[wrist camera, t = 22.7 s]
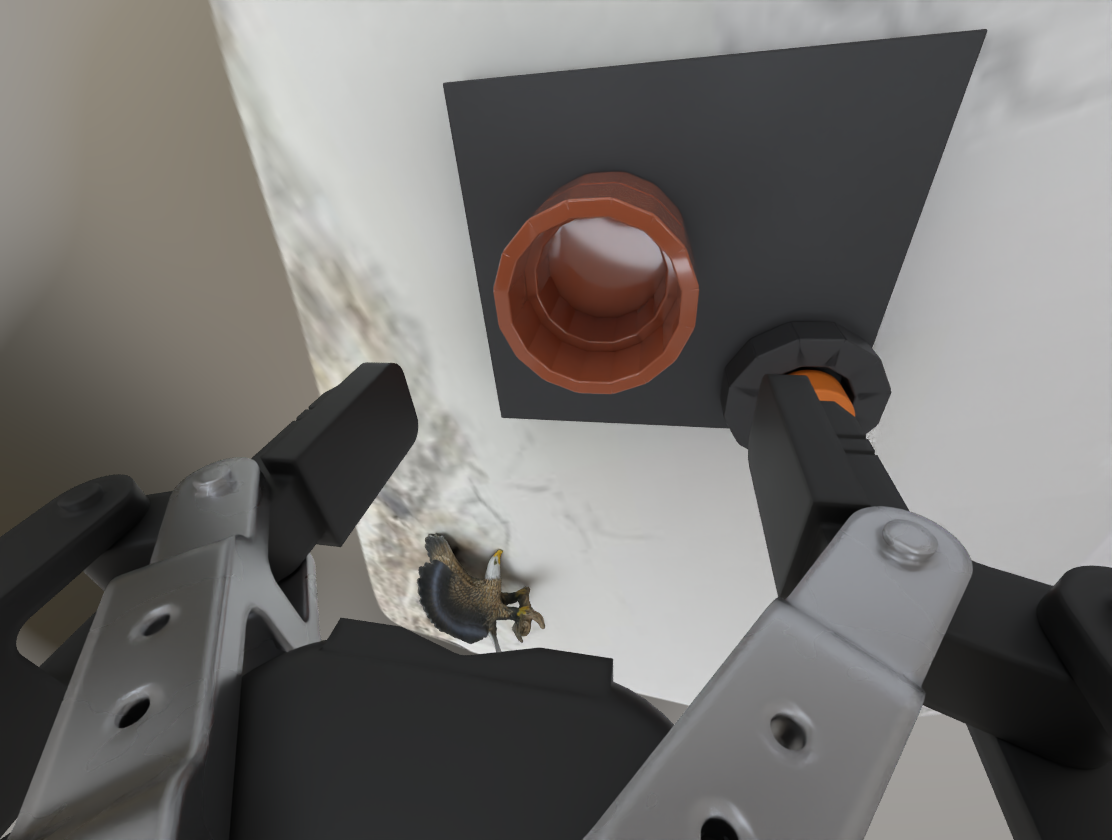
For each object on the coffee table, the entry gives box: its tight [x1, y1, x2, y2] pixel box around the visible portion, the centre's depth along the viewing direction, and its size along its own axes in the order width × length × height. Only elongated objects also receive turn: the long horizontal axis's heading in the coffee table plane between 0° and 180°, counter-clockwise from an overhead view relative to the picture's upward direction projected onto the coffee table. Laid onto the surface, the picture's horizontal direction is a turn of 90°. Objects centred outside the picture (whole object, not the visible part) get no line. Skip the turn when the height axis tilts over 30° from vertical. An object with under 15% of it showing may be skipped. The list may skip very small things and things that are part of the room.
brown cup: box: [493, 171, 699, 394], centre depth 16 cm, size 6×6×5 cm
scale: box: [443, 29, 987, 449], centre depth 18 cm, size 16×14×4 cm
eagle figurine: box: [417, 534, 545, 652], centre depth 33 cm, size 8×7×9 cm
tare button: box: [787, 370, 855, 417], centre depth 18 cm, size 3×3×2 cm
